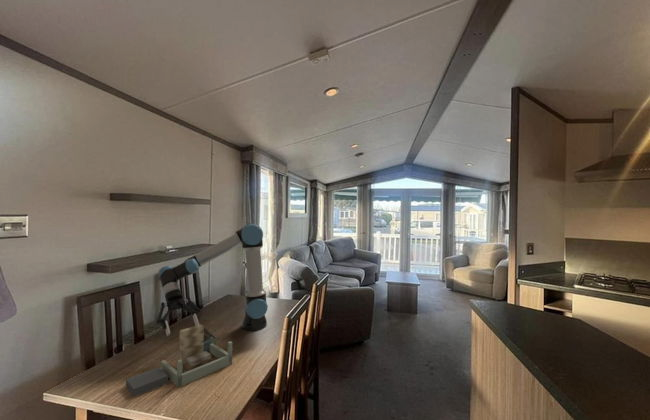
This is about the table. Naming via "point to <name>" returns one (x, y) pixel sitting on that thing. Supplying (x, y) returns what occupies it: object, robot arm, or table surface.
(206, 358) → the offcut stack
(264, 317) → the robot arm
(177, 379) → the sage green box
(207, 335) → the beverage carton
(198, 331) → the birch block
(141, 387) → the rubber block
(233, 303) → the table surface
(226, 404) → the table surface
